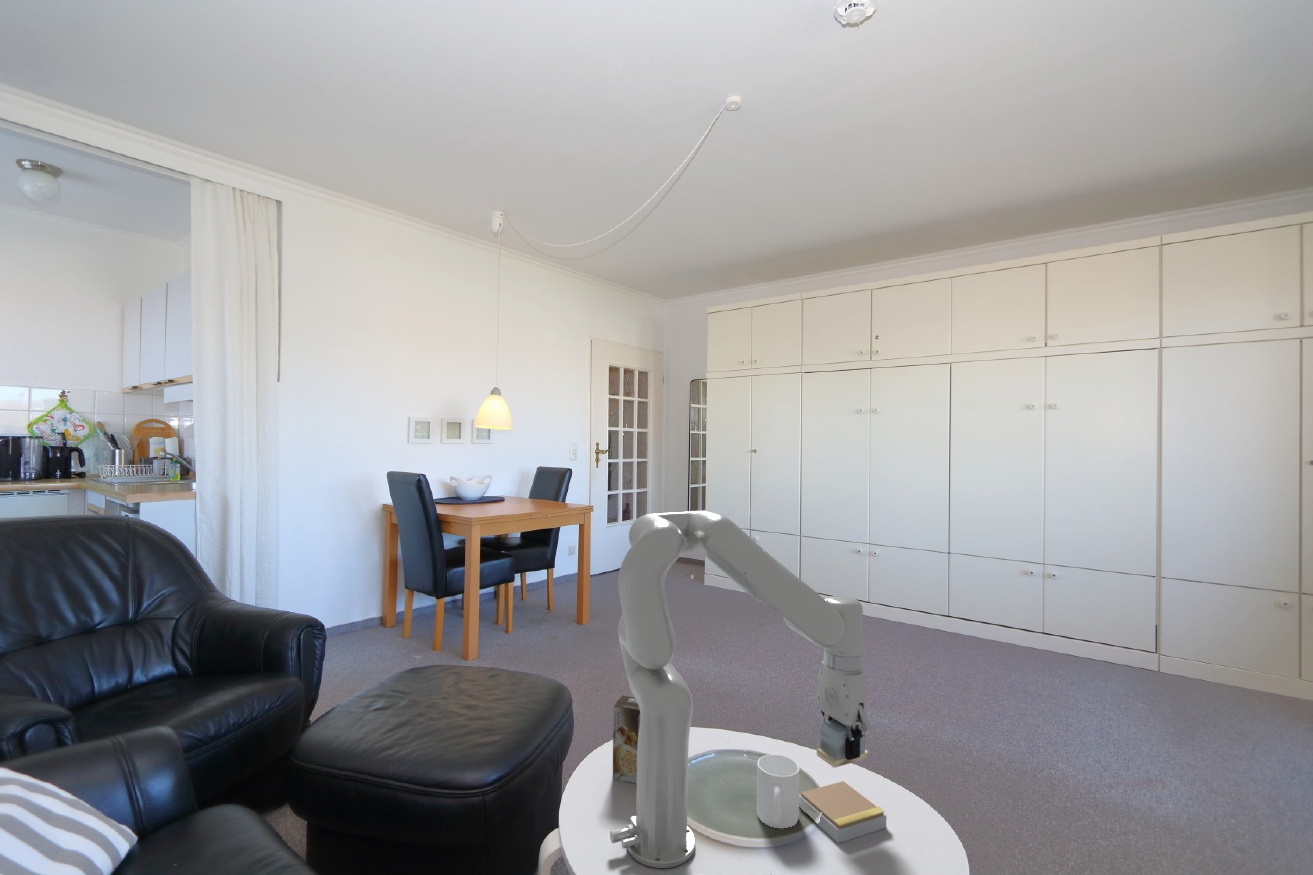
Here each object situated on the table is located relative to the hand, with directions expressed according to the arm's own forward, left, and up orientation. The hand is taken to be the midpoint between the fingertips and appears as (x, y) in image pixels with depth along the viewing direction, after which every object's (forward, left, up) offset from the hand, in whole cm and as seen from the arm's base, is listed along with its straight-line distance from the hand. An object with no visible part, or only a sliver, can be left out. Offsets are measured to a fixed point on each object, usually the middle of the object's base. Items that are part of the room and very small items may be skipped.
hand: (842, 749), depth 115 cm
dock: (0, 0, -13) cm, 13 cm away
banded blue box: (0, 0, -1) cm, 1 cm away
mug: (-13, +3, -14) cm, 19 cm away
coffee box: (-33, +29, -14) cm, 46 cm away
